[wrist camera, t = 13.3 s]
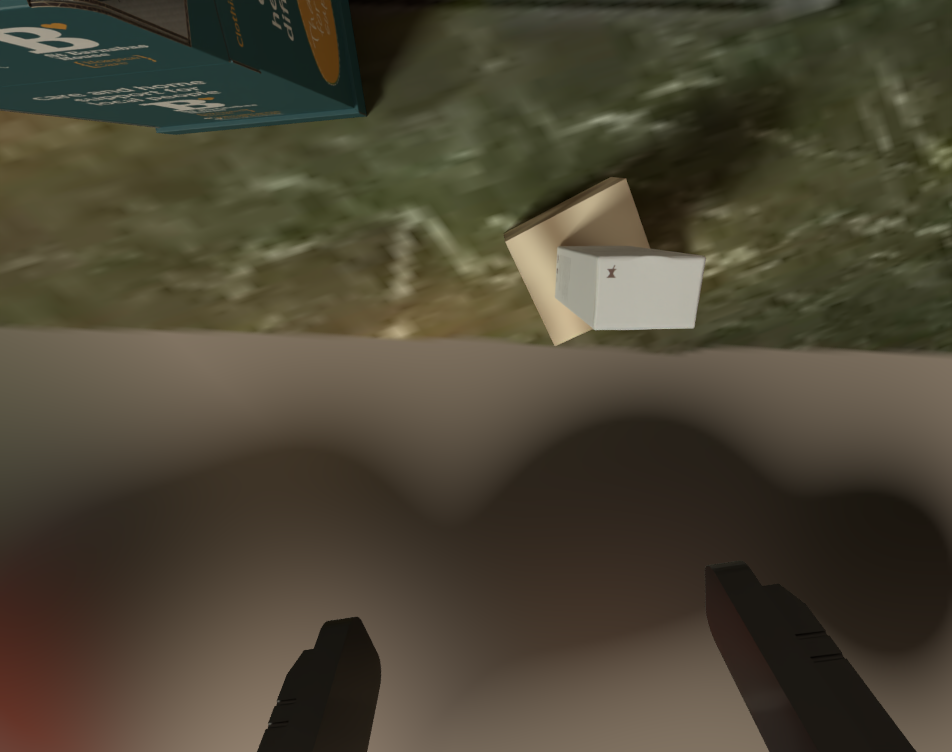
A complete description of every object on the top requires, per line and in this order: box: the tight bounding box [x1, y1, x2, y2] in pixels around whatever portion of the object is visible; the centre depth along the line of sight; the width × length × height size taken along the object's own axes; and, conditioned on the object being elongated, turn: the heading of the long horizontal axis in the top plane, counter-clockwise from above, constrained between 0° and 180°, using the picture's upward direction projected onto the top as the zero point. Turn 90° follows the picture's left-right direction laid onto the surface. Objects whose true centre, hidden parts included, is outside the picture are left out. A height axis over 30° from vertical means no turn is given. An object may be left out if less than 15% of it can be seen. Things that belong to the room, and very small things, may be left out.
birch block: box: [504, 177, 650, 346], centre depth 38 cm, size 10×10×5 cm
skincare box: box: [555, 246, 706, 330], centre depth 30 cm, size 6×4×12 cm
